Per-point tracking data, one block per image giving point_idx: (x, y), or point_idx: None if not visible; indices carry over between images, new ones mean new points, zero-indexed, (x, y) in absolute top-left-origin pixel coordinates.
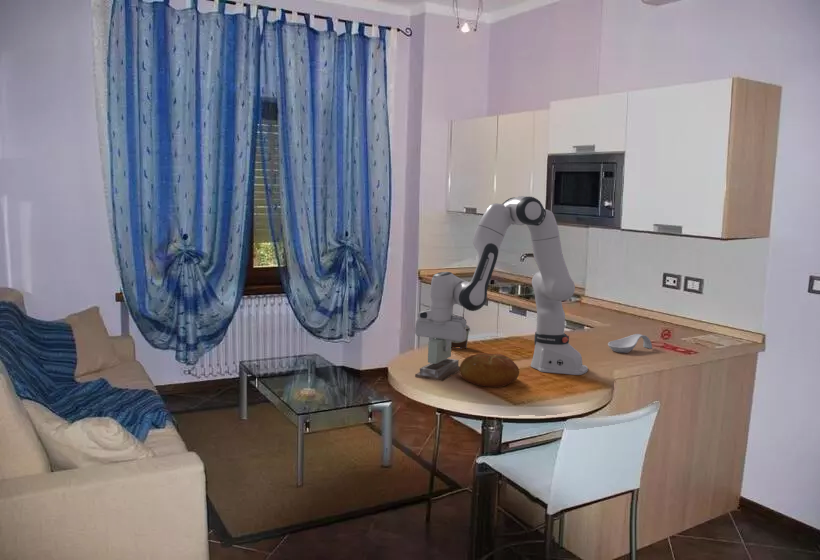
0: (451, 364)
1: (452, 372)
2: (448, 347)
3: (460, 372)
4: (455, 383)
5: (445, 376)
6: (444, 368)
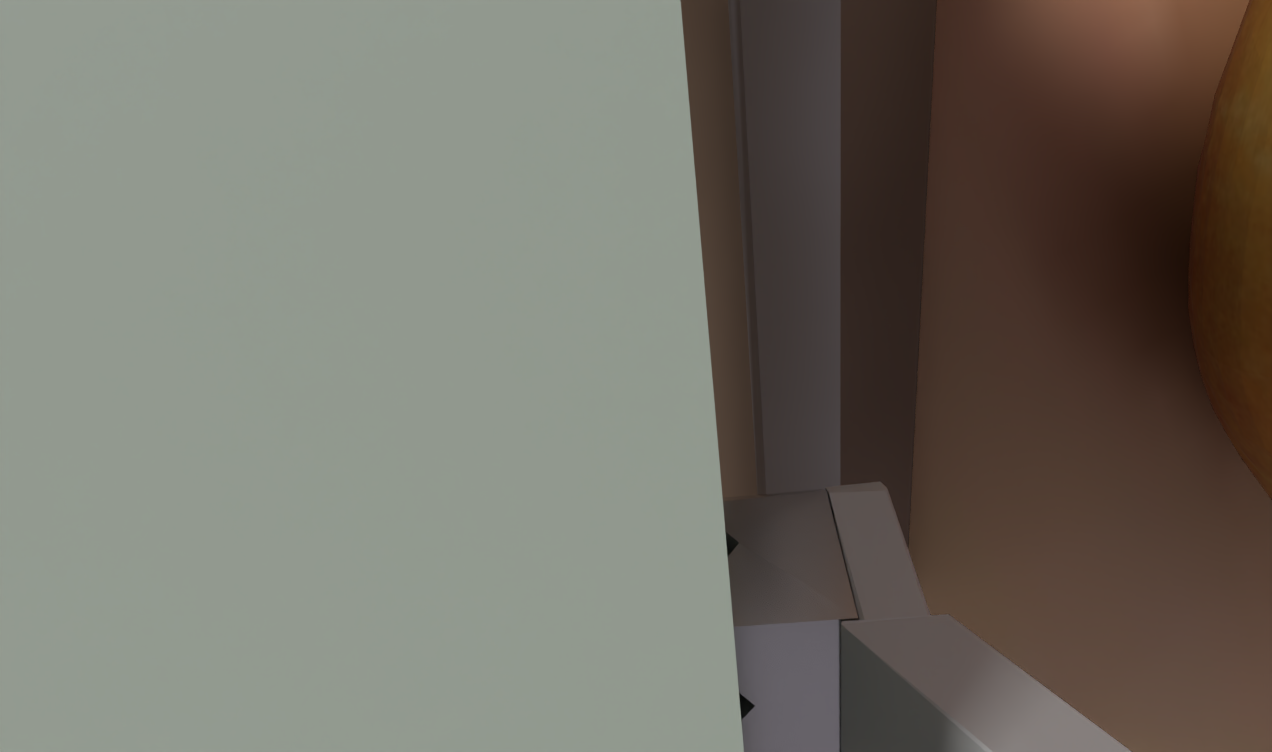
0: (838, 54)
1: (923, 191)
2: (914, 580)
3: (1245, 460)
4: (1140, 575)
5: (908, 509)
6: (837, 469)
